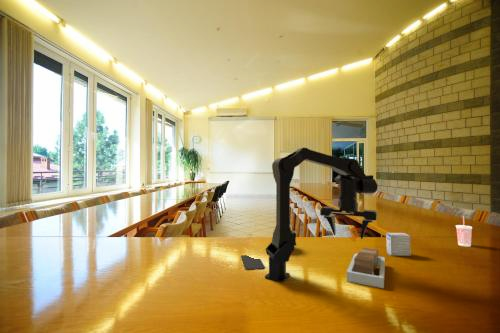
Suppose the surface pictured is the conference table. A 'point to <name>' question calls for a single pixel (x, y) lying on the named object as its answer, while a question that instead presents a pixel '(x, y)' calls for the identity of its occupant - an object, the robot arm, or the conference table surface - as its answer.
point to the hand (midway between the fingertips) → (347, 237)
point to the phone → (252, 263)
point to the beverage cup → (464, 234)
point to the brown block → (366, 261)
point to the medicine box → (398, 244)
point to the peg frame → (367, 275)
